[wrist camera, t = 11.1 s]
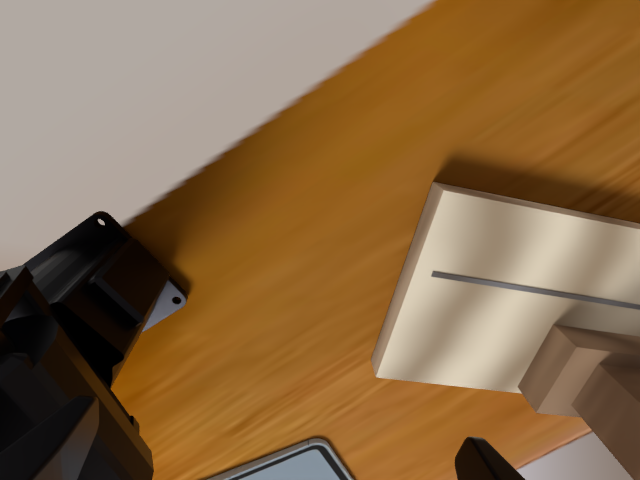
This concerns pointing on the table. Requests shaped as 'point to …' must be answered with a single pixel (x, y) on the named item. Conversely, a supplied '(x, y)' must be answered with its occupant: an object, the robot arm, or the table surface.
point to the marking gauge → (591, 386)
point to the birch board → (503, 287)
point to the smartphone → (293, 465)
